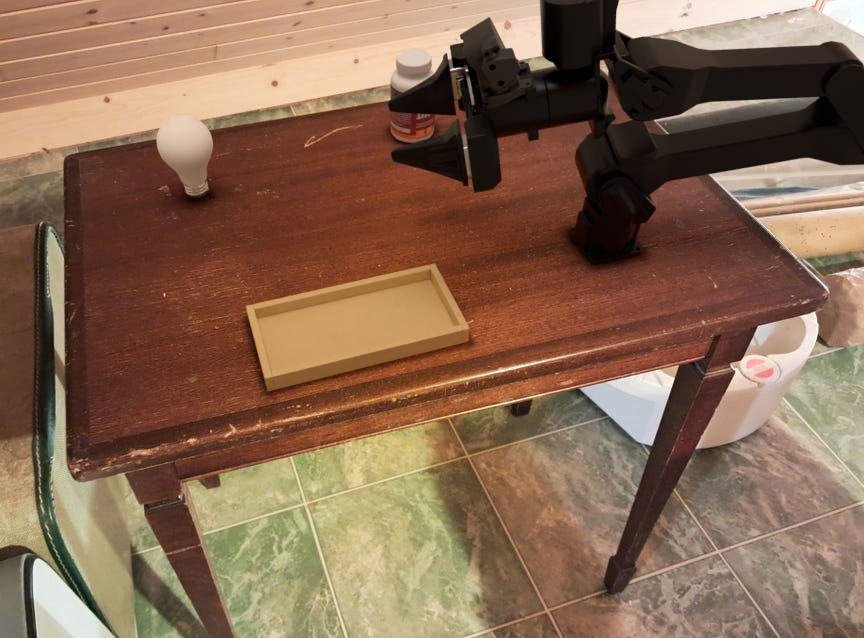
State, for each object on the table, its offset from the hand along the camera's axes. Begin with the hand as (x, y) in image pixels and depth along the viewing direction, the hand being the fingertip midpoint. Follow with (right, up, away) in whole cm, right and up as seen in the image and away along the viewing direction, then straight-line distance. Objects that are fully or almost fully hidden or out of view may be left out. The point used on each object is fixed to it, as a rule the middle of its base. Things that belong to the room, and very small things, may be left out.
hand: (390, 130), depth 74 cm
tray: (-4, -20, +4) cm, 21 cm away
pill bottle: (+3, +9, +29) cm, 30 cm away
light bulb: (-25, -2, +20) cm, 32 cm away
